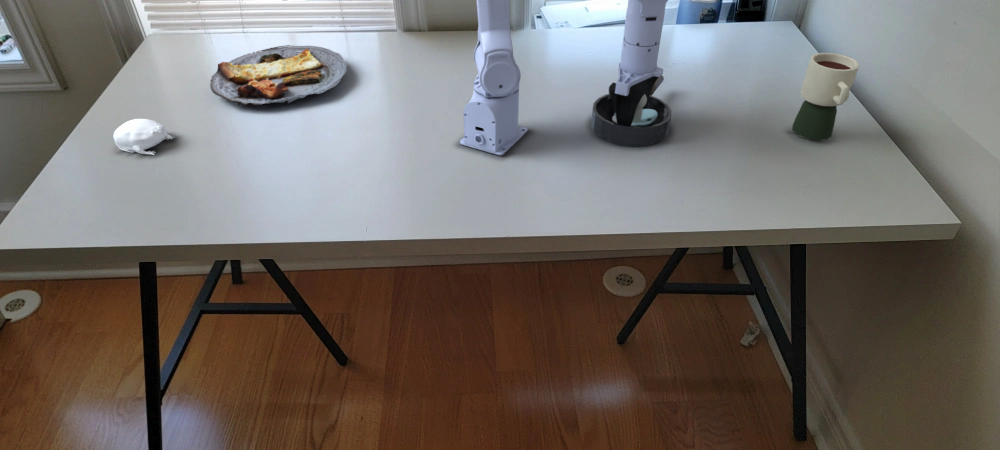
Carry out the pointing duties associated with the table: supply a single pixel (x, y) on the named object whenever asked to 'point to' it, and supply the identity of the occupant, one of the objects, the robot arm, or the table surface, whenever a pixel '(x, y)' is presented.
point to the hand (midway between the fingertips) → (630, 117)
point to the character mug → (824, 94)
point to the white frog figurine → (140, 135)
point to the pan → (628, 134)
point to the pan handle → (657, 84)
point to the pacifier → (641, 114)
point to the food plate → (278, 74)
